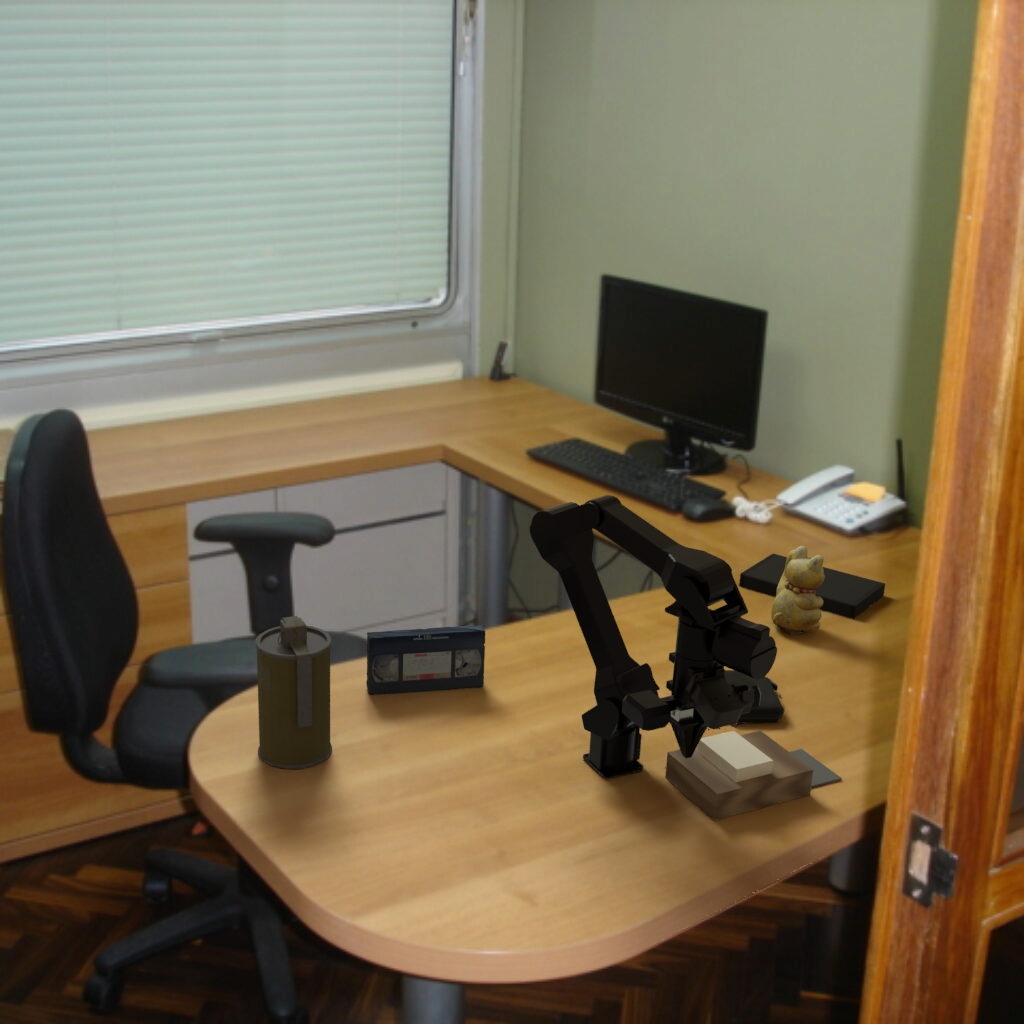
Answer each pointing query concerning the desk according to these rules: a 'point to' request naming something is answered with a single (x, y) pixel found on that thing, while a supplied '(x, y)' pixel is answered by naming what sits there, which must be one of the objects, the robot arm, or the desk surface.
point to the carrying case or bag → (763, 703)
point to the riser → (739, 797)
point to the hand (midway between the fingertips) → (686, 756)
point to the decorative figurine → (799, 593)
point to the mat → (816, 769)
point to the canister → (294, 694)
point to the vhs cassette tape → (425, 660)
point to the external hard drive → (836, 591)
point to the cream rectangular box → (735, 756)
